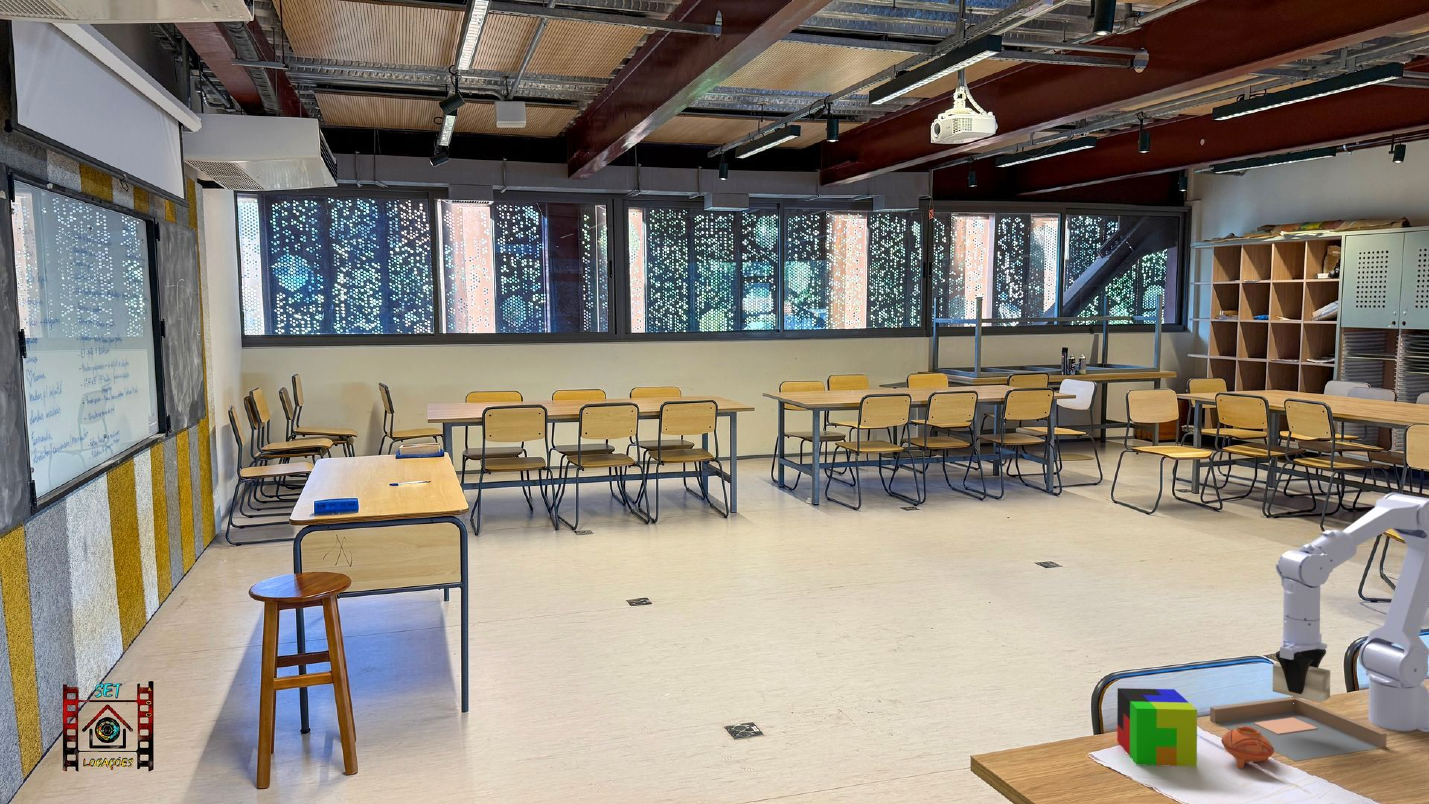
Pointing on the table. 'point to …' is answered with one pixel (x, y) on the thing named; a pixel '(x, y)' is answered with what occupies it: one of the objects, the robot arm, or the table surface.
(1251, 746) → the pot
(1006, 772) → the table surface
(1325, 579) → the robot arm
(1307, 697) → the birch block
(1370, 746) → the tray
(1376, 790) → the table surface
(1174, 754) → the puzzle toy
